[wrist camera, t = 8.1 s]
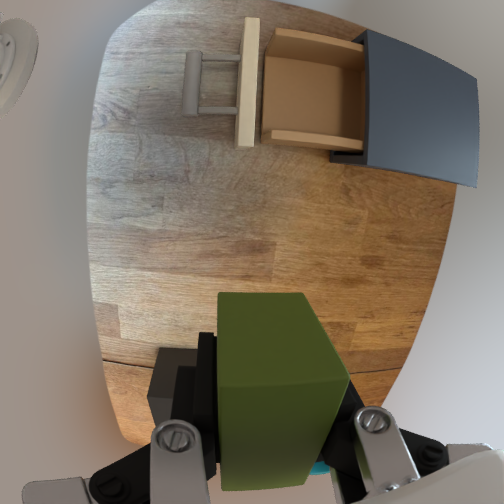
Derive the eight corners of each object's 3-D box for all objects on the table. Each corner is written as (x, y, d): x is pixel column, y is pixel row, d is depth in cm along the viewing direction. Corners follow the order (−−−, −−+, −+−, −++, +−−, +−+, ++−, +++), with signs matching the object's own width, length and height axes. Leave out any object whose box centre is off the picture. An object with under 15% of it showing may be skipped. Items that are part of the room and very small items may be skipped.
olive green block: (217, 290, 10) (217, 385, 5) (303, 291, 10) (352, 376, 6) (218, 407, 11) (221, 491, 7) (283, 405, 12) (304, 485, 8)
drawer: (186, 148, 26) (175, 145, 20) (193, 45, 23) (186, 16, 16) (360, 160, 28) (394, 163, 22) (362, 65, 25) (393, 47, 18)
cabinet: (329, 162, 29) (366, 165, 21) (332, 56, 25) (366, 29, 17) (430, 178, 30) (476, 188, 22) (431, 87, 27) (476, 78, 18)
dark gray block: (159, 347, 34) (146, 396, 25) (197, 348, 34) (193, 399, 26) (166, 385, 36) (157, 433, 28) (200, 386, 37) (198, 436, 28)
